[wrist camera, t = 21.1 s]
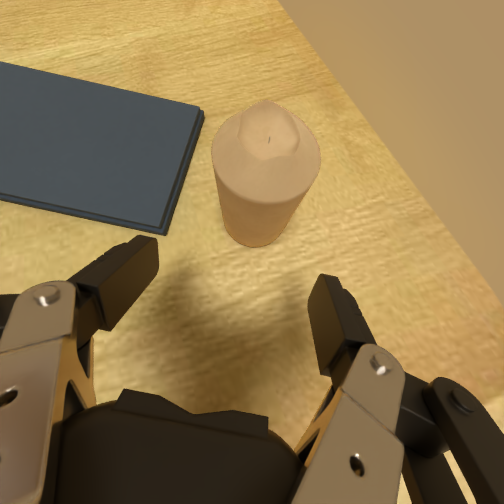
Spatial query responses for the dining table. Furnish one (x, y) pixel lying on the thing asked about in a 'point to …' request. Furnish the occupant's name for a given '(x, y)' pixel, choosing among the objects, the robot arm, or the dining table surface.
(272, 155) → the candle
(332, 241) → the dining table surface
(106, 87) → the dark grey rectangular slab
